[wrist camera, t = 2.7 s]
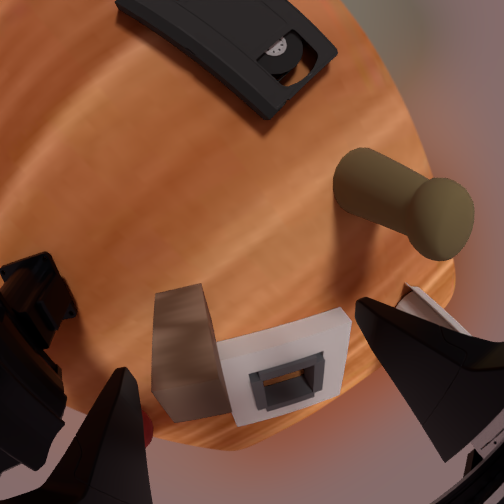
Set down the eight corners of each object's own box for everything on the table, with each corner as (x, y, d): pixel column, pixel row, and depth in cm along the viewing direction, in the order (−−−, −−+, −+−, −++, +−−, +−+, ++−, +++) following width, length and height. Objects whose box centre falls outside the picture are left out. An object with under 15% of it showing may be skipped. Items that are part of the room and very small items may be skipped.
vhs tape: (327, 56, 17) (340, 52, 16) (261, 119, 19) (270, 119, 17) (197, -48, 11) (199, -61, 9) (119, 11, 12) (114, 1, 10)
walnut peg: (169, 328, 24) (174, 422, 15) (155, 293, 22) (151, 391, 14) (211, 319, 25) (232, 411, 16) (201, 283, 23) (219, 378, 14)
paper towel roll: (412, 322, 34) (503, 426, 15) (383, 329, 32) (480, 451, 14) (433, 279, 31) (542, 382, 12) (404, 281, 29) (527, 404, 11)
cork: (389, 205, 24) (477, 258, 15) (336, 221, 23) (422, 290, 14) (386, 143, 21) (489, 174, 12) (328, 153, 20) (434, 190, 11)
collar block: (233, 411, 33) (238, 430, 30) (208, 344, 26) (212, 366, 23) (332, 381, 35) (340, 397, 32) (340, 306, 28) (354, 324, 26)
